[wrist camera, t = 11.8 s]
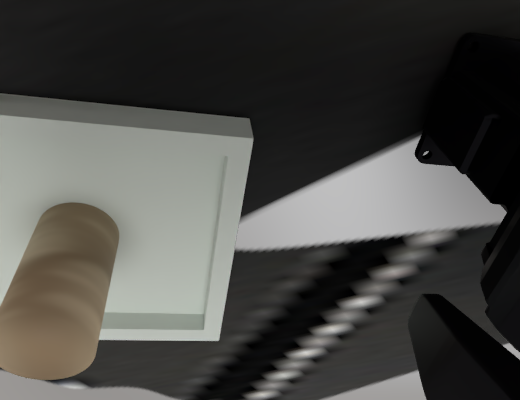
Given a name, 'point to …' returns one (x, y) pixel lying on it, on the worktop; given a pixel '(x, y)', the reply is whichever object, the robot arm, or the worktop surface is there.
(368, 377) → the worktop surface
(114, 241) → the dowel
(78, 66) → the worktop surface
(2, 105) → the tray
